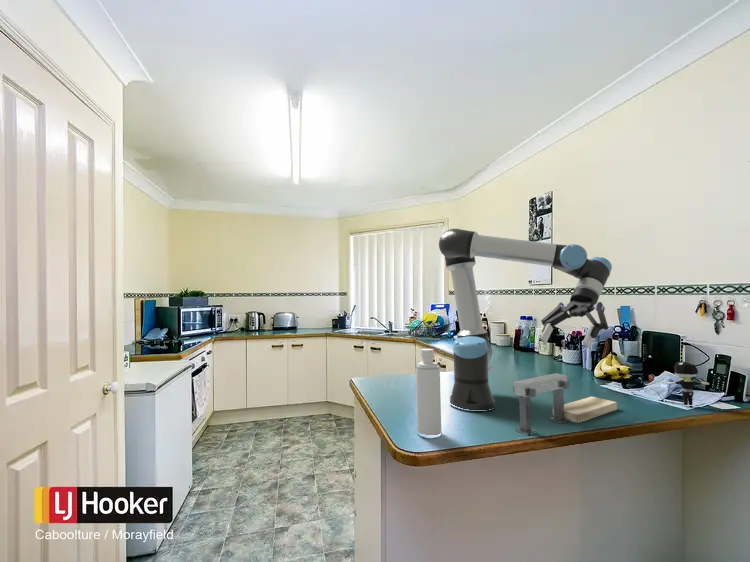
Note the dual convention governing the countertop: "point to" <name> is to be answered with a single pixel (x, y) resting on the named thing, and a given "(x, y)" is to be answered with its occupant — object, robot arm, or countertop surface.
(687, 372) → the toy
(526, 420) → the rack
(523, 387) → the rail
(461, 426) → the countertop surface
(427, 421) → the grey bottle
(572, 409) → the board
